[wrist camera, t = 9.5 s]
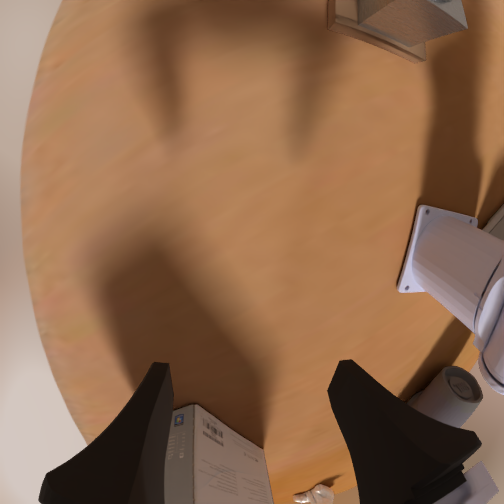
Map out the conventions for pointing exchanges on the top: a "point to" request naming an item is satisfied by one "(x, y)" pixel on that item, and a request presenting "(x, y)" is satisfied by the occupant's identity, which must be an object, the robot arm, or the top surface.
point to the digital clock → (496, 224)
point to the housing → (412, 19)
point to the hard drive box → (212, 463)
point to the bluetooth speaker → (449, 397)
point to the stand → (367, 31)
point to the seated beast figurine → (316, 495)
